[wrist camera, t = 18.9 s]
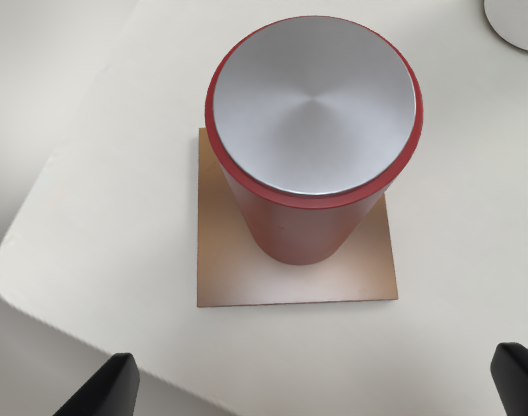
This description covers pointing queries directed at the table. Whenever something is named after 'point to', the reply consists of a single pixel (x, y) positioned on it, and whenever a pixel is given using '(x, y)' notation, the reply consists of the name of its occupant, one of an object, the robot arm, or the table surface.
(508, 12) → the mug
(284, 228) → the can
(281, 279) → the coaster
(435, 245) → the table surface
